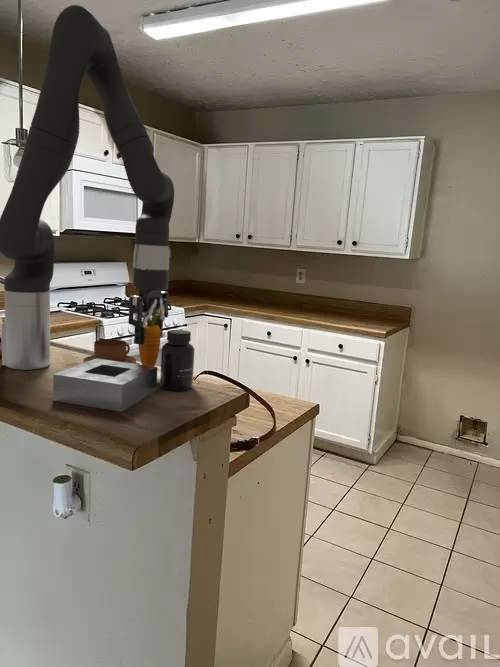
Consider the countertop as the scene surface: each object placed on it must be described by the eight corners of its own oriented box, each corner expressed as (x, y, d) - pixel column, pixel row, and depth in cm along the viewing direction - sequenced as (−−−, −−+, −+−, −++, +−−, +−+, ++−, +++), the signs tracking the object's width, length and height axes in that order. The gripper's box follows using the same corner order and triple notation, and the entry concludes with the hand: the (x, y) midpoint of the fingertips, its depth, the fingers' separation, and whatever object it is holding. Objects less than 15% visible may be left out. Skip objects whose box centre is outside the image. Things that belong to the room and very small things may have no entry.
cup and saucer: (99, 359, 122) (99, 335, 121) (144, 365, 120) (145, 340, 118) (73, 370, 110) (73, 344, 109) (122, 377, 108) (122, 350, 107)
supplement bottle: (186, 393, 99) (189, 336, 97) (154, 389, 100) (156, 332, 98) (196, 384, 106) (199, 330, 103) (167, 381, 107) (169, 327, 105)
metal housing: (53, 400, 90) (53, 374, 89) (95, 381, 103) (96, 358, 102) (121, 411, 86) (122, 384, 85) (156, 390, 100) (157, 366, 99)
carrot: (151, 370, 112) (154, 306, 109) (163, 376, 108) (166, 309, 106) (132, 373, 109) (134, 307, 106) (143, 379, 105) (146, 310, 102)
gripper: (150, 264, 112) (148, 333, 115) (118, 266, 98) (116, 344, 101) (180, 267, 110) (177, 337, 113) (152, 269, 96) (149, 348, 99)
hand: (148, 340), depth 107 cm, fingers open, 8 cm apart
